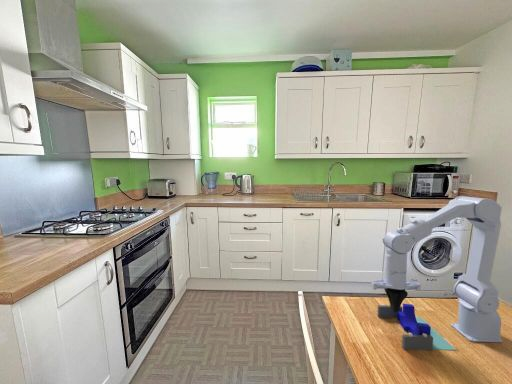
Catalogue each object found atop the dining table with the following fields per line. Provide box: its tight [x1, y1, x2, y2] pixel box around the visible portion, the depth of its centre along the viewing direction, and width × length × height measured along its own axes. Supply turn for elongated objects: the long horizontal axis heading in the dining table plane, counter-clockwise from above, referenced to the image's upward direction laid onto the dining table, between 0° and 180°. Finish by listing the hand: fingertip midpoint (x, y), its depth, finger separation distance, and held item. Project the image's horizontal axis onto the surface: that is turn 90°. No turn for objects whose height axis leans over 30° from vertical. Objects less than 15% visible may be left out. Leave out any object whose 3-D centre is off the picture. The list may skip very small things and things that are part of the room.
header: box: [376, 303, 434, 352], centre depth 73 cm, size 8×16×5 cm, turn 177°
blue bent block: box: [396, 303, 432, 335], centre depth 73 cm, size 12×4×6 cm, turn 167°
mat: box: [415, 316, 457, 351], centre depth 73 cm, size 8×15×1 cm, turn 177°
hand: (394, 310), depth 73 cm, fingers closed
